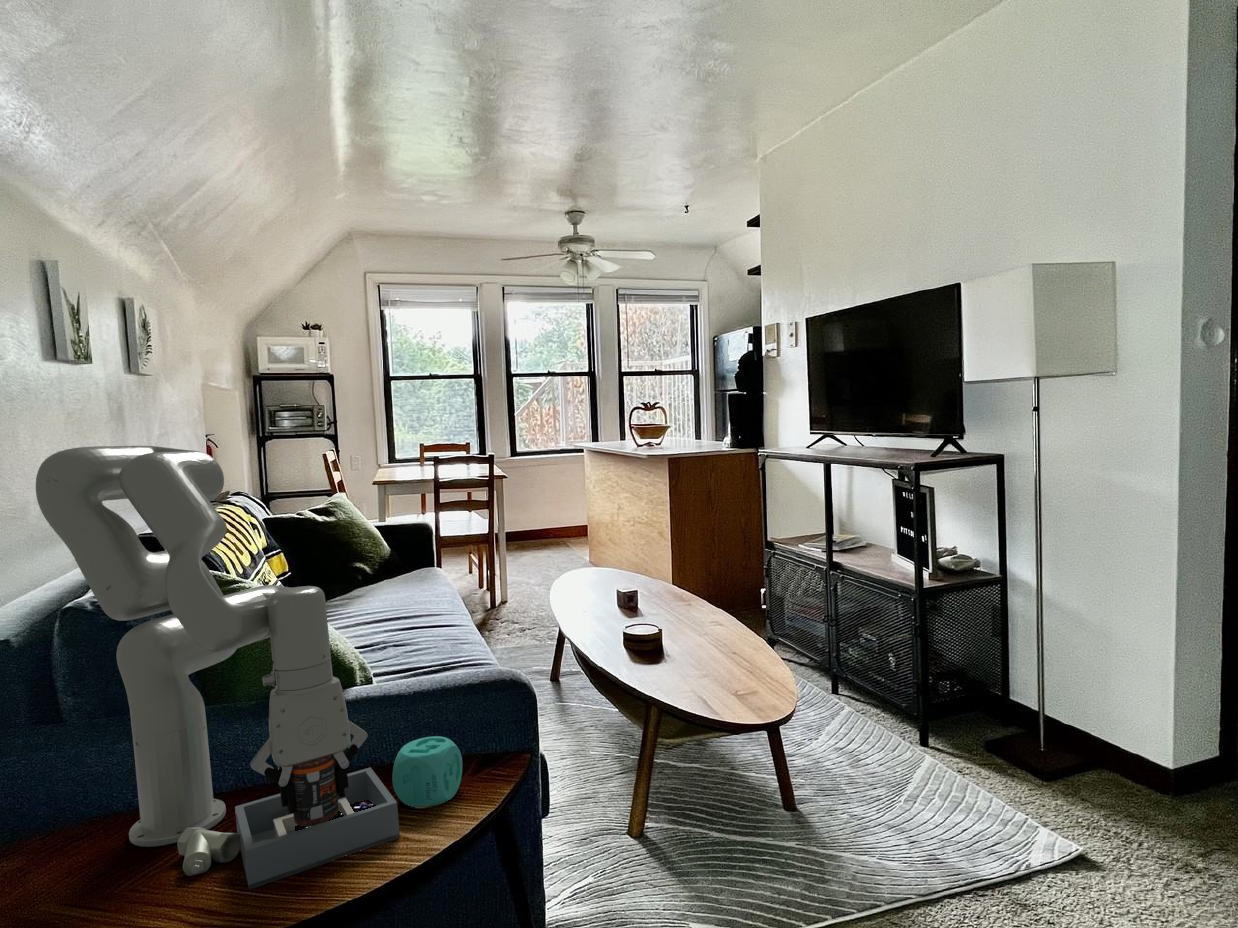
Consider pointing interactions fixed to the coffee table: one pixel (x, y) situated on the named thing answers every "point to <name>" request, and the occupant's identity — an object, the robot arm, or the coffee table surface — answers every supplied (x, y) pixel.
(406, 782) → the decorative dice
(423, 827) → the coffee table surface
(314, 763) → the supplement bottle
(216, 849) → the pipe fitting
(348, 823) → the box
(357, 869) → the coffee table surface
